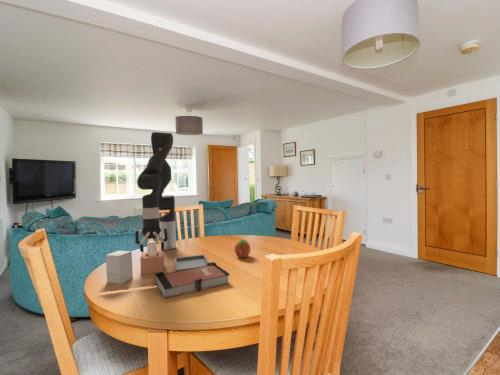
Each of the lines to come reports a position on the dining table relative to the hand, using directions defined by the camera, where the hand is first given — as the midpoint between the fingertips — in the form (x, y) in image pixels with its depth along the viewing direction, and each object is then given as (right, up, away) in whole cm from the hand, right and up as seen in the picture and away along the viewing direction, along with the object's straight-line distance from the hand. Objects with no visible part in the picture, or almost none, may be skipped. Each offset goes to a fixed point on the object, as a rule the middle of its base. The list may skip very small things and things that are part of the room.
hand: (152, 251), depth 129 cm
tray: (+17, -9, +6) cm, 20 cm away
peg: (0, -9, 0) cm, 9 cm away
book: (+22, -10, -16) cm, 30 cm away
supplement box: (-9, -11, -12) cm, 19 cm away
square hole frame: (0, -10, 0) cm, 10 cm away
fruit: (+42, -8, +20) cm, 47 cm away
